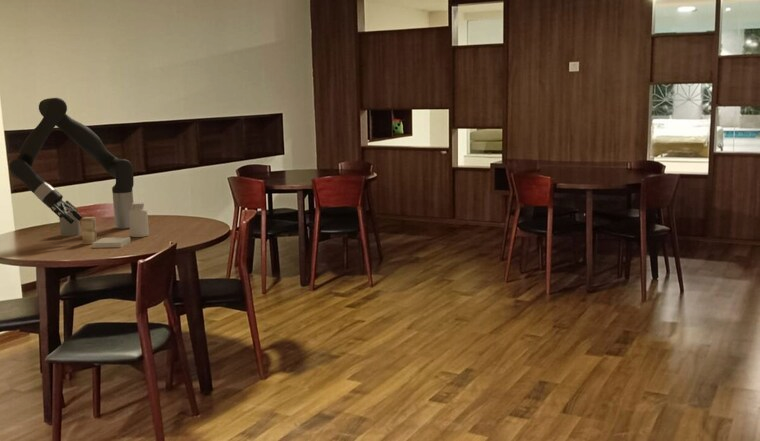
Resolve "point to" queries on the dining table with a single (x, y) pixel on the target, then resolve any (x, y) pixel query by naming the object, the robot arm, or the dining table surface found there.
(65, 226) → the cup
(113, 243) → the block
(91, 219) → the maple block
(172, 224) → the dining table surface
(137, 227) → the pill bottle
